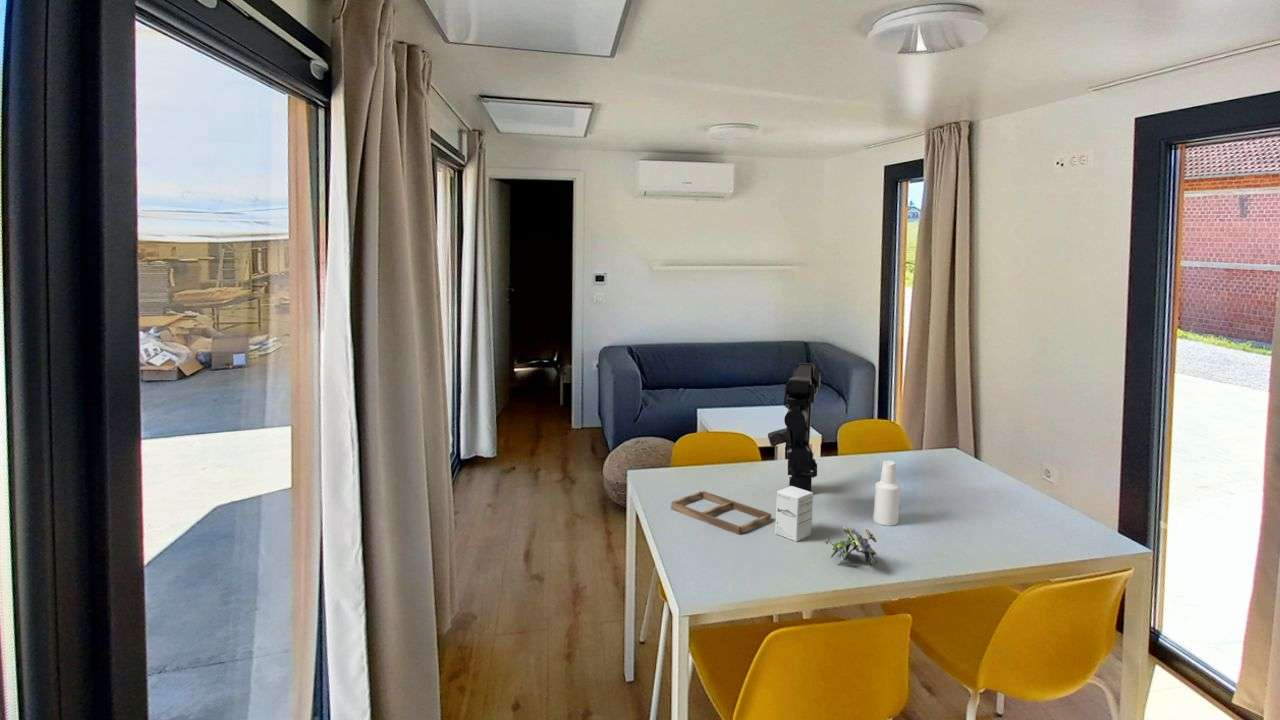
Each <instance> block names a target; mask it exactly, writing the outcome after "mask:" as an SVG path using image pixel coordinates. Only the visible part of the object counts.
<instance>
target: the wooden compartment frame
mask: <svg viewBox="0 0 1280 720" xmlns="http://www.w3.org/2000/svg"><path fill="white" fill-rule="evenodd" d="M703 498H704V500H707V501H710V502H712V503H715V504H718V505H717V506H715V507H713V508H710V509H708V510H705V511H702V512H701V511H699V510H696V509H693V508H691V507H687V506H686V505H688V503H689V504H692V503H694V502H697V501H699V500H702V499H703ZM670 508H671V509H670V510H672V511H675V512H678V513H680V514H683V515H686V516H689V517H690V518H693V519H697V520H698V521H702V522H704V523H706V522H707V524H709V525H712V524H713V525H712V526H714V525H715V527H717V526H718V527H717V528H720V529H722V528H723V529H722V530H725V529H726V531H727V530H729V531H728V532H730V531H731V533H733V532H734V533H733V534H735V533H736V535H738V534H739V535H744V534H746V533H748V532H747V531H749V530H751V531H753V530H755V529H757V528H759V526H760V527H762V526H764V525H766V524H768V522H769V523H770V522H771V520H772V513H770V512H767V511H764V510H761V509H758V508H755V507H752V506H748V505H746V504H744V503H740V502H738V501H735V500H731V499H729V498H726V497H722V496H719V495H716V494H713V493H710V492H707V491H705V490H703V491H701V490H700V491H698V492H695V493H692V494H690V495H687V496H684V497H681V498H678V499H674V500H673V501H671V503H670ZM732 509H733V510H735V511H738V512H741V513H744V514H747V515H749V516H751V517H752V516H753V517H756V519H754V520H752V521H749V522H747V523H744V524H741V525H737V524H734V523H731V522H728V521H726V520H724V519H720V518H718V517H715V516H718V515H720V514H723V513H725V512H727V511H729V510H732ZM761 525H762V526H761ZM756 527H757V528H756ZM754 528H755V529H754ZM752 529H753V530H752ZM745 532H746V533H745ZM749 532H750V531H749ZM743 533H744V534H743Z"/></svg>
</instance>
